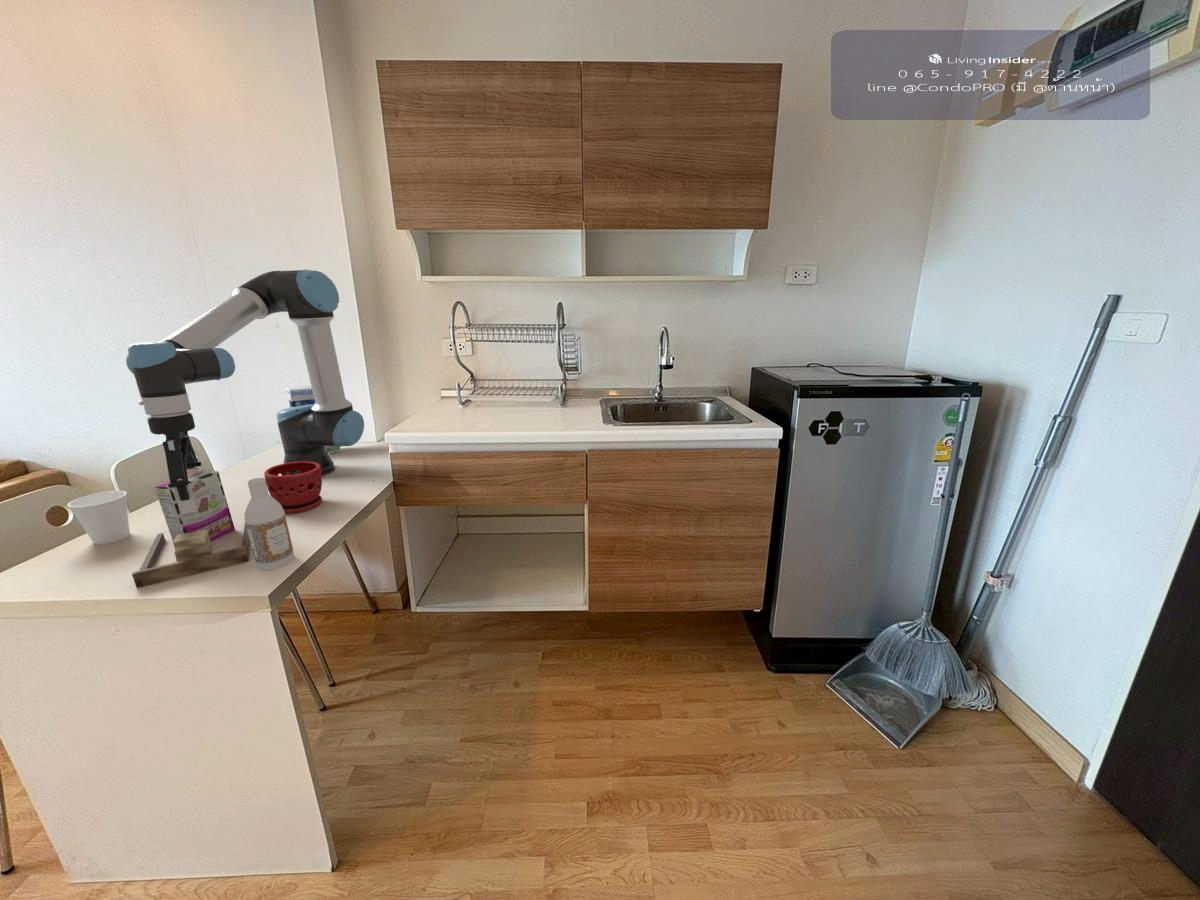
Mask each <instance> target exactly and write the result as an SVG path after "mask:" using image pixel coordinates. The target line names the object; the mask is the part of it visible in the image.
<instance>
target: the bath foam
mask: <svg viewBox="0 0 1200 900" xmlns="http://www.w3.org/2000/svg"><path fill="white" fill-rule="evenodd" d="M247 484H248V486H247V487H248V489H249V493H250V500H249V502H248V503H247V506H246V508H245V511H244V525H245V524H246V528H247V532H248V536H249V540H250V548H251V550H252V555H253V559H254V563H255V566H256V569H257V570H259V571H266V572H267V571H274V570H278V569H281V568H284V567H286V566H288V565H290V564H291V563H294V561H295V559H296V557H295V553H294V548H293V543H292V539H291V535H290V529H289V526H288V521H287V517H286V514H285V512H284V510H283V508H282V506H281V505H280V503H279V502H278V501H276V500H275V499H274V498H273V497H271V495H270V493H269V491H268V488H267V485H266V481H265V477H256V478H255V477H254V478H251V479H248V480H247Z"/></svg>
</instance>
